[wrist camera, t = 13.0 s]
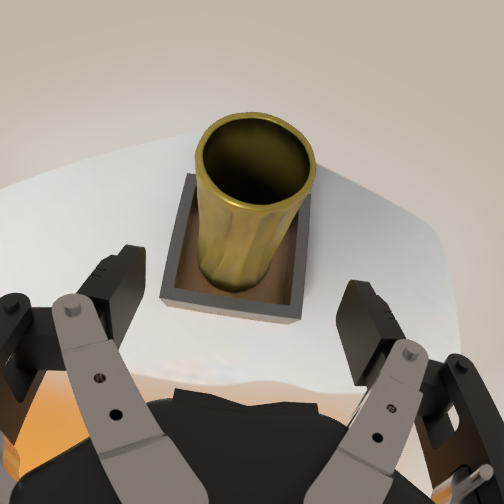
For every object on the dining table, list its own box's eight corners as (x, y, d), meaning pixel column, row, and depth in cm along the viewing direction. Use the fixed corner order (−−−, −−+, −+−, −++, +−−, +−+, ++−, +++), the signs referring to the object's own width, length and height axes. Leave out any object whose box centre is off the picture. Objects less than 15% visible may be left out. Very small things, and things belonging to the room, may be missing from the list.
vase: (214, 211, 28) (219, 90, 14) (280, 237, 28) (339, 133, 14) (185, 275, 26) (158, 188, 12) (256, 303, 26) (305, 245, 12)
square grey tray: (166, 305, 26) (159, 297, 22) (189, 195, 29) (187, 173, 25) (288, 324, 26) (301, 319, 23) (298, 213, 30) (310, 194, 26)
